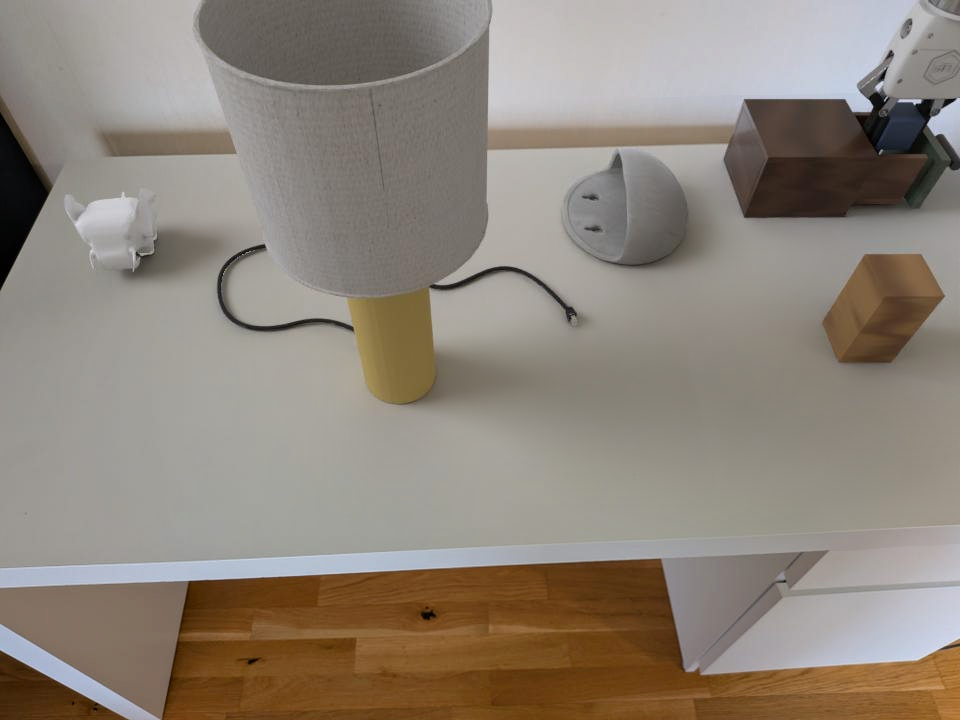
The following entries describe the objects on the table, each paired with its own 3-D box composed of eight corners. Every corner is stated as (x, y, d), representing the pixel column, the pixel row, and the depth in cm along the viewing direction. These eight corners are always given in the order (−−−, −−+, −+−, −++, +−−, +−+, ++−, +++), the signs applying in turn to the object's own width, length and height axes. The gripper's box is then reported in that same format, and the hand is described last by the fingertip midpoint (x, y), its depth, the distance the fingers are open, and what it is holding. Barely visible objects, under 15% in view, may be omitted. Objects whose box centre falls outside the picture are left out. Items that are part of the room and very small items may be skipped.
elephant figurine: (82, 292, 82) (45, 237, 75) (101, 225, 89) (69, 169, 82) (164, 284, 83) (135, 229, 76) (176, 218, 90) (151, 163, 83)
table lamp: (230, 491, 66) (1, 139, 34) (215, 255, 86) (61, -109, 54) (613, 400, 73) (720, 34, 41) (519, 200, 92) (542, -153, 60)
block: (896, 130, 90) (912, 101, 86) (908, 149, 87) (925, 121, 84) (864, 130, 90) (879, 102, 86) (876, 150, 87) (892, 121, 84)
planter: (712, 226, 79) (571, 222, 79) (695, 270, 85) (564, 266, 85) (687, 129, 90) (564, 126, 91) (674, 174, 96) (559, 171, 96)
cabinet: (816, 159, 98) (845, 98, 91) (845, 217, 91) (879, 157, 83) (723, 159, 98) (743, 98, 91) (743, 217, 91) (768, 157, 83)
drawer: (917, 156, 97) (947, 107, 91) (950, 209, 91) (985, 160, 84) (800, 156, 97) (823, 107, 91) (825, 209, 90) (851, 160, 84)
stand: (872, 321, 80) (921, 253, 71) (891, 362, 76) (945, 296, 67) (821, 321, 80) (864, 253, 71) (838, 362, 76) (885, 296, 67)
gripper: (904, 10, 71) (832, 156, 86) (1063, 9, 71) (964, 155, 86) (878, -23, 76) (814, 121, 91) (1028, -24, 76) (940, 120, 91)
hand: (888, 136), depth 88 cm, fingers closed on block, 4 cm apart
